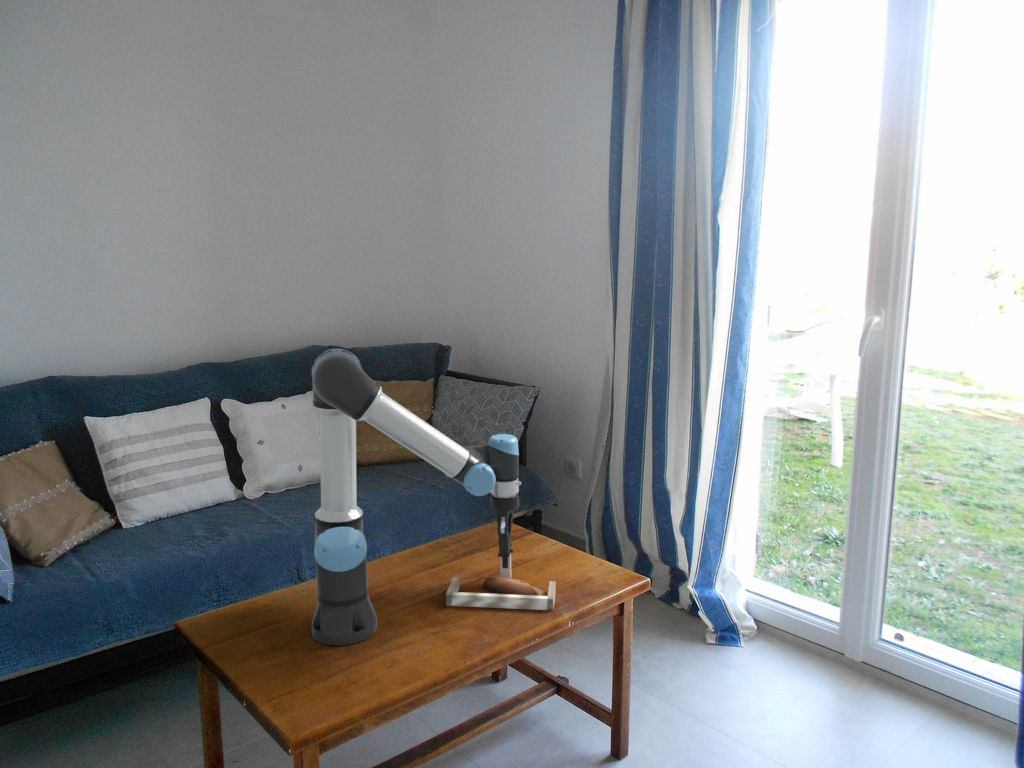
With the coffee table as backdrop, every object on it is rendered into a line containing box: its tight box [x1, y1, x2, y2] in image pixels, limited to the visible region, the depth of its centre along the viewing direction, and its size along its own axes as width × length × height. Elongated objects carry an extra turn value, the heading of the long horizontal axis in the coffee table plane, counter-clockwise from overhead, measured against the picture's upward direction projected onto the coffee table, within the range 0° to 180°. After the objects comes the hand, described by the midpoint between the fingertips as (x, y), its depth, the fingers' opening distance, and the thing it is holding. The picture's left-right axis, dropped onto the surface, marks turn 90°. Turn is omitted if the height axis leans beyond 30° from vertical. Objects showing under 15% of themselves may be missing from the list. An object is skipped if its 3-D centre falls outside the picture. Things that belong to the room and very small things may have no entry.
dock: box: [445, 576, 557, 611], centre depth 191 cm, size 27×10×3 cm, turn 84°
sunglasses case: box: [482, 576, 548, 596], centre depth 195 cm, size 18×7×7 cm
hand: (505, 577), depth 200 cm, fingers closed
